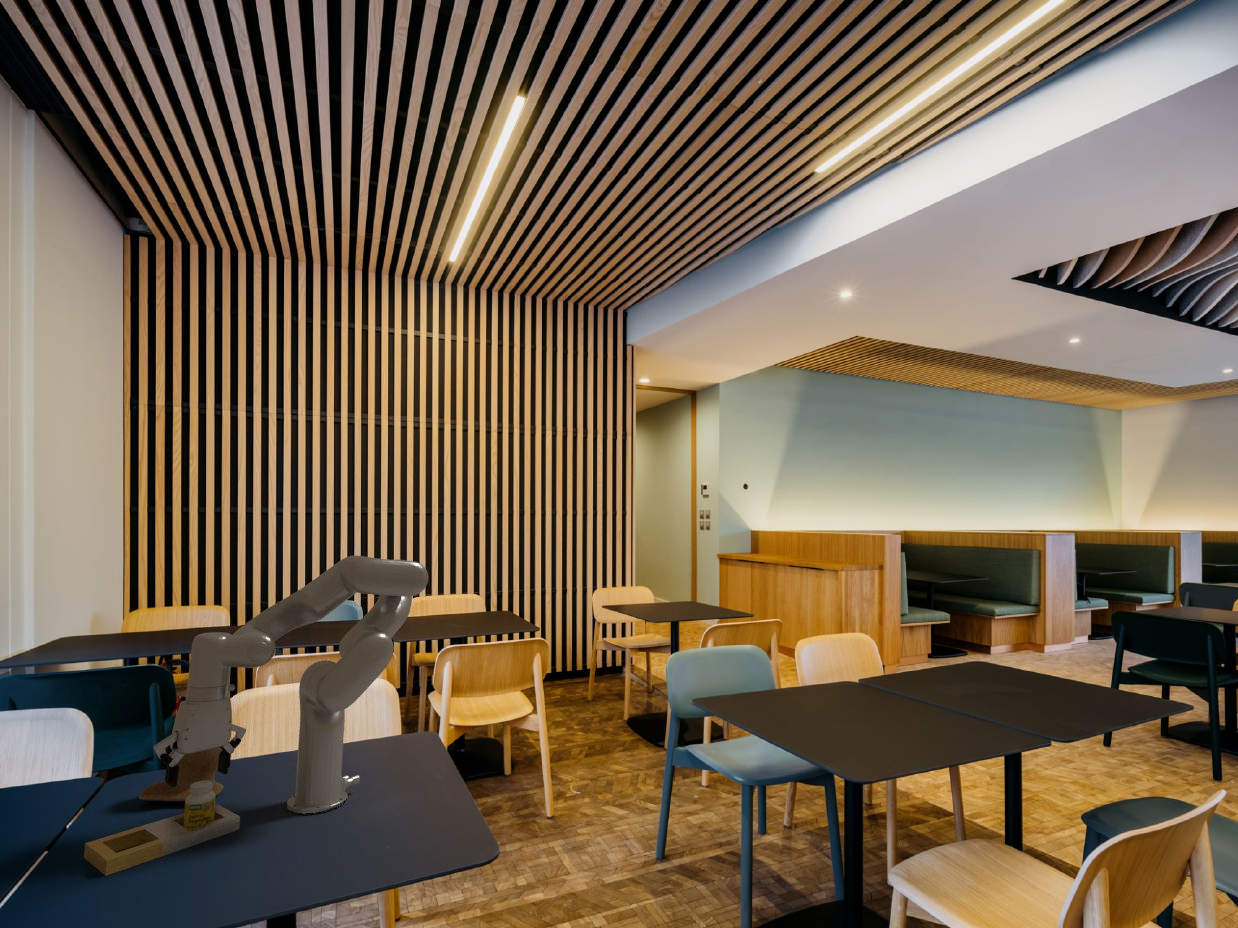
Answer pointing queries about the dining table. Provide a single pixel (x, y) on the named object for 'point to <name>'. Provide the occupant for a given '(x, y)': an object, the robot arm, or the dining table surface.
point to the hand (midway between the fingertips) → (197, 778)
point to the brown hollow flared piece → (187, 777)
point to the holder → (155, 841)
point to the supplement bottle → (199, 804)
